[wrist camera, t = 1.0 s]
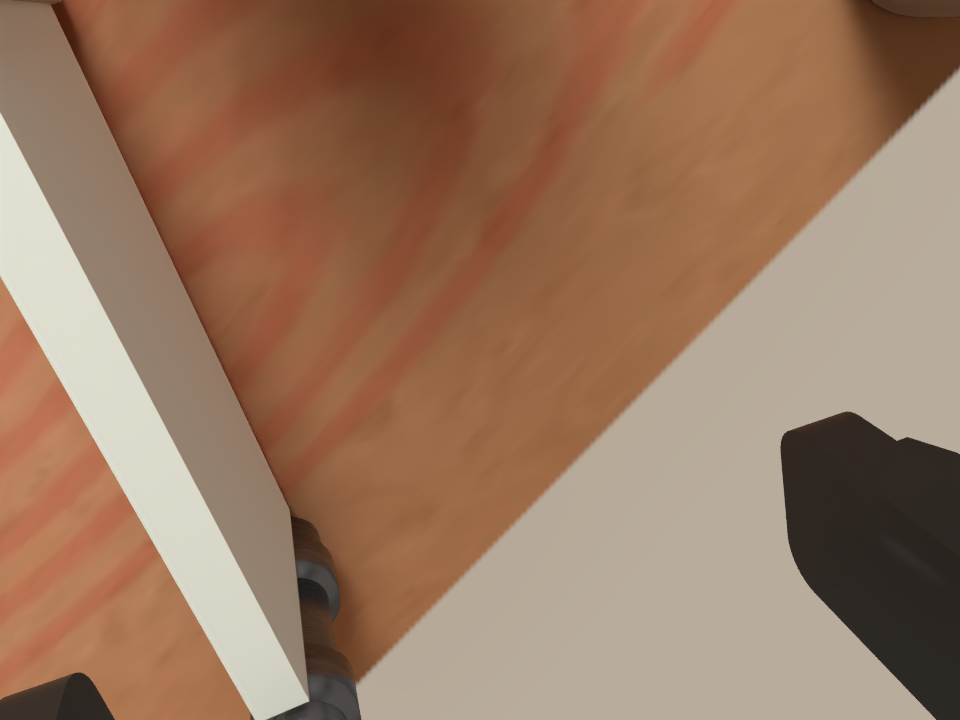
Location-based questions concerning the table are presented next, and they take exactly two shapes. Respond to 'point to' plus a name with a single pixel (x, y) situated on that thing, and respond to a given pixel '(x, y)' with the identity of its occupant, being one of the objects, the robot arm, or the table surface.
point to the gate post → (320, 633)
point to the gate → (141, 361)
